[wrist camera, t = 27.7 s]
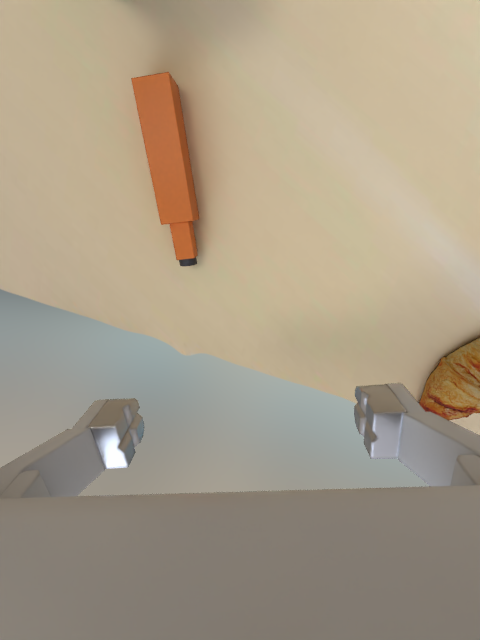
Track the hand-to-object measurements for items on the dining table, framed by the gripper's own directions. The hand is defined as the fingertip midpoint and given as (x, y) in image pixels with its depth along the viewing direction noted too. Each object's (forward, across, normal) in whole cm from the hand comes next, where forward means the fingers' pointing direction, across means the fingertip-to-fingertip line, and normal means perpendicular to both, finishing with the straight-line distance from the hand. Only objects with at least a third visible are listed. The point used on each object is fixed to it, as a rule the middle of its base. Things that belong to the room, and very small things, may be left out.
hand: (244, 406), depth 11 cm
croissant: (+36, -32, +24) cm, 54 cm away
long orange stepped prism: (+36, +10, -10) cm, 39 cm away
